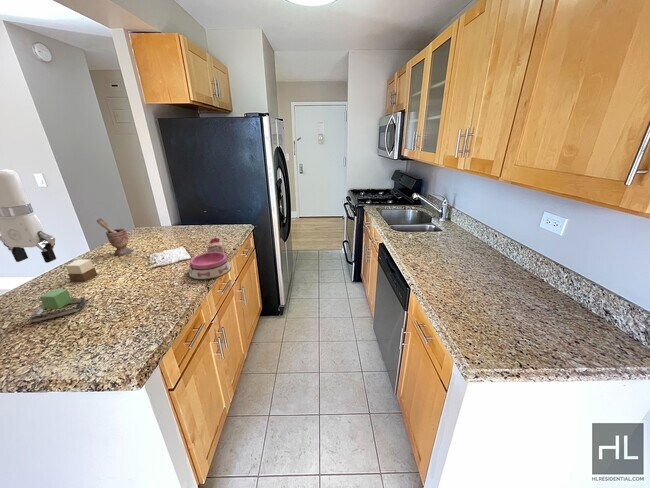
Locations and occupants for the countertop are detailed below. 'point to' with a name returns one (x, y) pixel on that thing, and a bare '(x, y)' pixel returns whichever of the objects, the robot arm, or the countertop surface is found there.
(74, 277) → the walnut block
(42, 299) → the green block
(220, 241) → the food item
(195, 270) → the dog bowl
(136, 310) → the countertop surface
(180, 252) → the white flat packet
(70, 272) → the cream block
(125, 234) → the mortar and pestle
